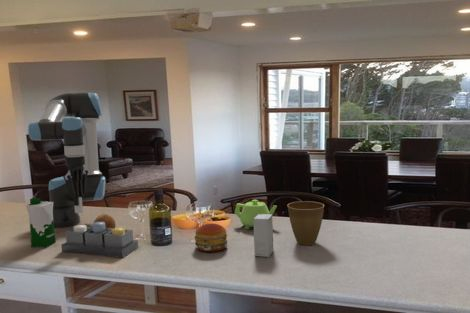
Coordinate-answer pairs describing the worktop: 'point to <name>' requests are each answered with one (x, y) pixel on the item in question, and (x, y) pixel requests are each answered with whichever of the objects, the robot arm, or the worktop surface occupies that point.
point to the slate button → (98, 227)
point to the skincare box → (263, 235)
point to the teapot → (252, 212)
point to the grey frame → (99, 243)
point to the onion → (106, 220)
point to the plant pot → (306, 220)
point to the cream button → (80, 228)
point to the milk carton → (41, 223)
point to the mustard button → (118, 231)
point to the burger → (211, 238)
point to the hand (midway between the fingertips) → (79, 212)
